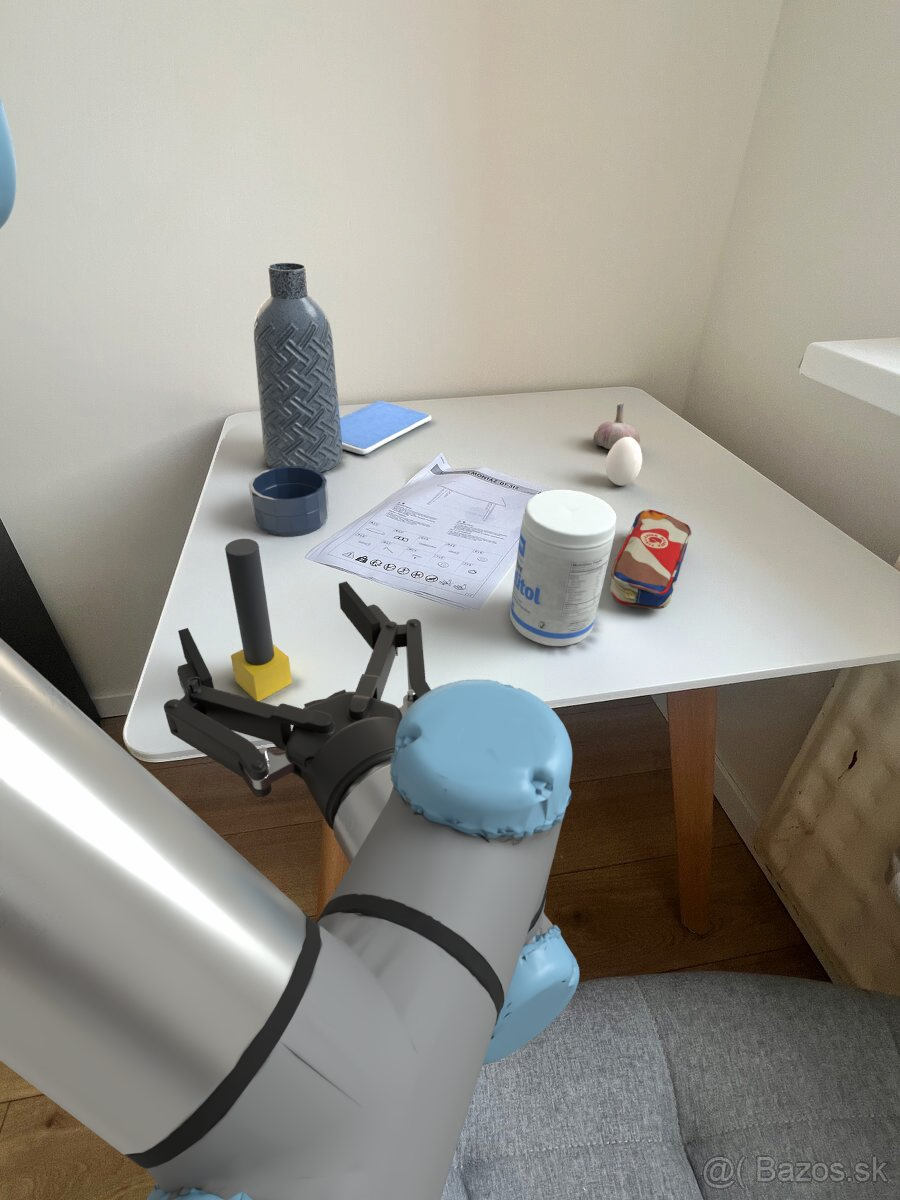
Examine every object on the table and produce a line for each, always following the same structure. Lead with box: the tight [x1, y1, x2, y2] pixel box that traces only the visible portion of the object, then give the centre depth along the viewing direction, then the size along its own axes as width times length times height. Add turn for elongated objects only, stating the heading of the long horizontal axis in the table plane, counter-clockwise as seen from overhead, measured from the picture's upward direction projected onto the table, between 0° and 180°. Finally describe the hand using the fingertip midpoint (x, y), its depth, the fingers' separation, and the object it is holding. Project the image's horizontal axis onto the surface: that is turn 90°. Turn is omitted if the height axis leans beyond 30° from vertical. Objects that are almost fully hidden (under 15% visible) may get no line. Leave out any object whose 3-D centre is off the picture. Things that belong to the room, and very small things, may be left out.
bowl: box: [248, 466, 330, 537], centre depth 94 cm, size 10×10×6 cm
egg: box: [605, 437, 643, 486], centre depth 106 cm, size 5×5×8 cm
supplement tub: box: [509, 489, 617, 647], centre depth 75 cm, size 10×10×15 cm
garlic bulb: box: [592, 401, 641, 451], centre depth 117 cm, size 8×7×8 cm
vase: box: [253, 262, 344, 473], centre depth 103 cm, size 12×12×28 cm
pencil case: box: [609, 509, 692, 610], centre depth 87 cm, size 11×20×5 cm, turn 142°
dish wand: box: [224, 538, 293, 702], centre depth 65 cm, size 4×4×16 cm
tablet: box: [340, 400, 433, 456], centre depth 121 cm, size 19×13×1 cm, turn 146°
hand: (268, 617), depth 58 cm, fingers open, 13 cm apart
